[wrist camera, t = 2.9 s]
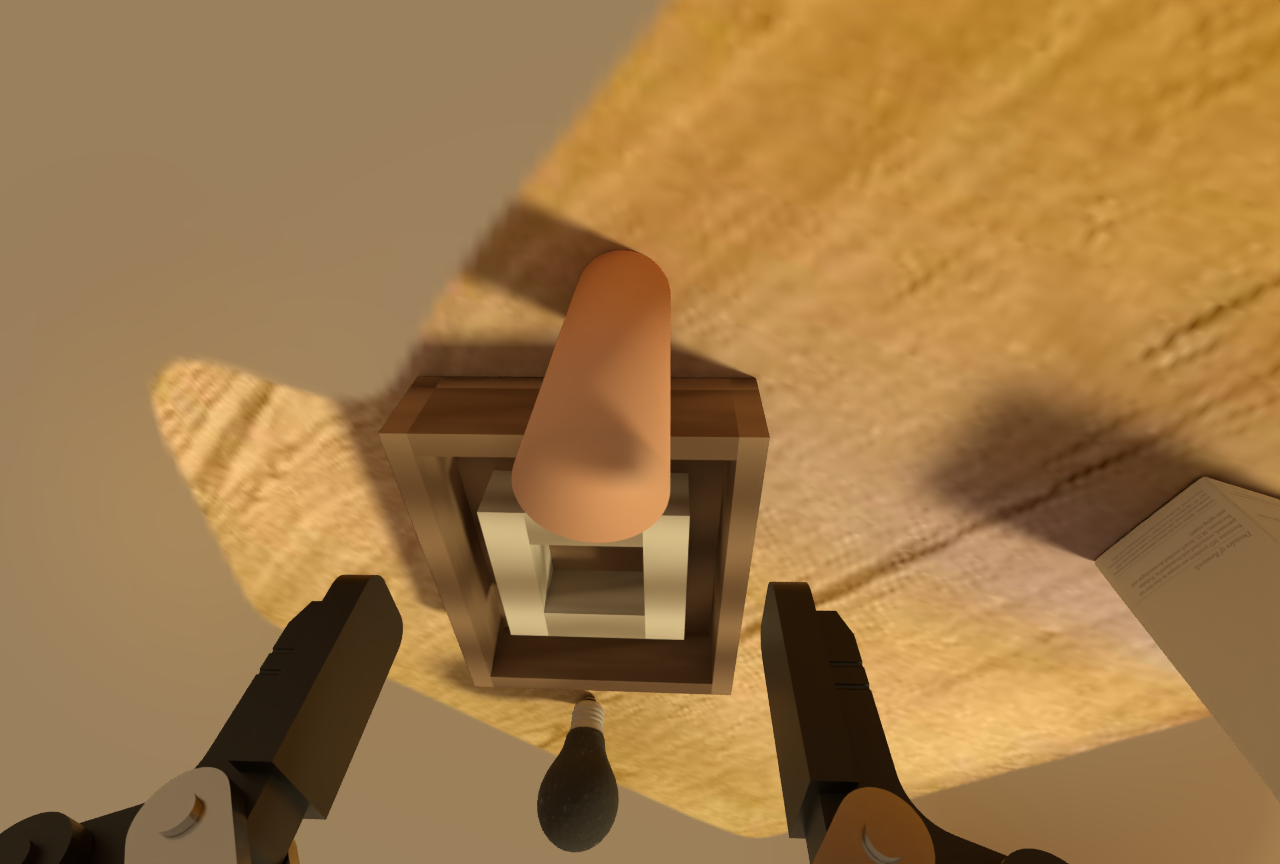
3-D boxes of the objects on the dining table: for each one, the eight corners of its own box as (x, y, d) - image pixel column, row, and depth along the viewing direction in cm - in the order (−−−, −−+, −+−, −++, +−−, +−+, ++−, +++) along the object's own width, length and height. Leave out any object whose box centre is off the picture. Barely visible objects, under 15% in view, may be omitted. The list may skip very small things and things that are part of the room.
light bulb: (625, 683, 42) (615, 838, 34) (624, 718, 46) (614, 867, 38) (552, 679, 43) (525, 832, 35) (557, 714, 46) (533, 861, 38)
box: (417, 376, 26) (378, 433, 23) (755, 378, 26) (769, 437, 22) (493, 623, 38) (475, 686, 35) (725, 630, 38) (730, 695, 34)
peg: (572, 250, 22) (498, 423, 13) (671, 249, 22) (671, 425, 13) (580, 339, 25) (524, 541, 15) (670, 339, 25) (669, 544, 15)
